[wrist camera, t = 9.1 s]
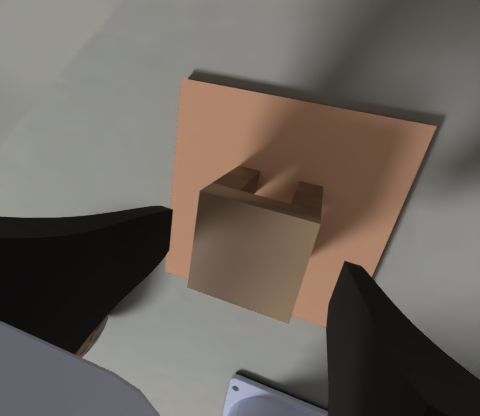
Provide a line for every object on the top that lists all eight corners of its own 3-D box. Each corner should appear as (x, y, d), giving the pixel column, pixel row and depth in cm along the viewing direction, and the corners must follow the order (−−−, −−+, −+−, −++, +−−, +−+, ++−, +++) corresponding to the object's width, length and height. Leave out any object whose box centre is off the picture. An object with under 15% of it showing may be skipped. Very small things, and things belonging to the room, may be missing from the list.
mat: (346, 328, 17) (346, 335, 16) (169, 266, 19) (164, 271, 19) (431, 125, 12) (436, 126, 12) (186, 79, 15) (181, 78, 14)
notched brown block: (323, 186, 14) (320, 224, 10) (300, 261, 16) (288, 323, 11) (238, 165, 15) (199, 190, 10) (225, 238, 17) (187, 287, 12)
